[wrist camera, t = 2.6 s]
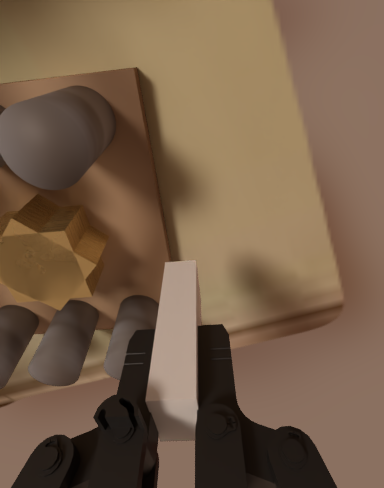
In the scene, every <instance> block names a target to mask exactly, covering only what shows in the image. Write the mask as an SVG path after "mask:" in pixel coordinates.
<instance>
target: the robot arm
mask: <svg viewBox="0 0 384 488" xmlns="http://www.w3.org/2000/svg"><path fill="white" fill-rule="evenodd" d="M94 419H95V421H96V423H97V424H98V427H97V428H95V429H93V430H91V431H89V432H86V433H84V434H81V435H79V436H76V437H74V438H72V439H70V438H68V437H67V436H65V435H54V436H52V437H49V438H47V439H46V440H44V441H43V442H42V443H40V444H39V445H38V446H37V447H36V449H35V450H34V451H33V453H32V454H31V455H30V457H29V459H28V461H27V462H26V464H25V466H24V467H23V469H22V470H21V472H20V474H19V475H18V477H17V479H16V480H15V482H14V484H13V485H12V487H11V488H157V480H158V468H159V457H158V453H157V446H158V436H159V438H160V441H187V440H188V441H189V440H195V488H337V486H336V484H335V482H334V481H333V479H332V477H331V475H330V473H329V471H328V469H327V467H326V465H325V463H324V461H323V459H322V458H321V456H320V454H319V452H318V450H317V448H316V446H315V444H314V443H313V442H312V440H311V439H310V438H309V436H308V435H307V434H305V433H304V432H302V431H301V430H300V429H297V428H294V427H291V426H285V427H280V428H278V429H276V430H274V429H271V428H268V427H265V426H262V425H259V424H257V423H254V422H253V421H251V420H250V419H248V418H247V417H246V416H245V415H244V414H243V413H242V411H241V410H240V408H239V406H238V403H237V399H236V392H235V384H234V375H233V367H232V359H231V349H230V341H229V334H228V333H227V331H226V329H225V328H224V326H223V324H219V325H201V297H200V289H199V280H198V272H197V263H196V260H190V261H176V262H165V268H164V275H163V282H162V289H161V296H160V303H159V309H158V316H157V323H156V329H145V330H136V331H135V333H134V334H133V336H132V337H131V339H130V340H129V343H128V347H127V352H126V356H125V360H124V366H123V369H122V374H121V378H120V382H119V387H118V391H117V395H113V396H111V397H110V398H108V399H106V400H105V401H104V402H103V403H102V404H101V405H100V406H99V407H98V409H97V411H96V413H95V415H94Z"/></svg>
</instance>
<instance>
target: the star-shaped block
mask: <svg viewBox="0 0 384 488" xmlns="http://www.w3.org/2000/svg"><path fill="white" fill-rule="evenodd" d="M108 238H109V236H108V235H106V234H105V233H103V232H101V231H100V230H98V229H96V228H95V227H93V226H91V225H90V224H89V221H88V218H87V216H86V213H85V210H84V207H83V205H74V206H63V207H60V206H58V205H56V204H55V203H53V202H51V201H50V200H48V199H46V198H45V197H43V196H41V195H40V194H36V195H35V196H34V197H33V198H32V199H31V200H30V201H29V202H28V203H27V204H26V205H25V206H24V207H23V208H22V209H21V210H20V211H11V212H6V213H5V214H4V215H3V216H1V217H0V283H1V284H3V285H5V286H7V288H8V289H9V291H10V292H11V294H12V296H13V297H14V299H15V300H16V302H17V303H19V302H32V301H40V302H42V303H44V304H47V305H49V306H51V307H53V308H55V309H57V310H61V309H62V308H63V307H64V305H65V304H66V303H67V302H68V300H69V299H71V298H83V297H92V296H93V294H94V291H95V288H96V286H97V283H98V281H99V278H100V276H101V273H102V271H103V268H104V264H103V261H102V258H101V254H102V252H103V249H104V247H105V245H106V242H107V240H108Z"/></svg>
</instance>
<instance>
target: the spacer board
mask: <svg viewBox="0 0 384 488" xmlns="http://www.w3.org/2000/svg"><path fill="white" fill-rule="evenodd" d="M36 194H40V195H41V196H43V197H45V198H46V199H48V200H50V201H51V202H53V203H55V204H56V205H58V206H60V207H63V206H74V205H83V207H84V210H85V213H86V216H87V218H88V221H89V224H90V225H91V226H93V227H95V228H96V229H98V230H100V231H101V232H103V233H105V234H106V235H108V236H109V238H108V240H107V242H106V245H105V247H104V249H103V252H102V254H101V258H102V261H103V264H104V268H103V271H102V273H101V276H100V278H99V281H98V283H97V286H96V288H95V291H94V294H93V296H92V297H83V298H71V299H69V300H68V302H67V303H66V304H65V305H64V307H63V308H62V309H61V310H57V309H55V308H53V307H51V306H49V305H47V304H44V303H42V302H40V301H32V302H19V303H17V302H16V300H15V299H14V297H13V296H12V294H11V292H10V291H9V289H8V288H7V286H5V285H3V284H1V283H0V389H1V388H3V387H5V385H6V384H7V382H8V380H9V378H10V376H11V375H12V373H13V371H14V369H15V367H16V365H17V364H18V362H19V360H20V358H21V356H22V355H23V353H24V351H25V349H26V347H27V345H28V344H29V342H30V340H31V338H32V336H33V335H34V334H43V333H45V335H44V337H43V339H42V341H41V343H40V345H39V347H38V349H37V350H36V352H35V354H34V356H33V358H32V360H31V362H30V364H29V366H28V371H29V373H30V375H31V376H32V377H33V378H34V379H36V380H37V381H39V382H42V383H44V384H47V385H52V386H67V385H71V384H73V383H75V382H76V381H77V380H78V378H79V375H80V372H81V369H82V366H83V363H84V361H85V358H86V355H87V352H88V349H89V346H90V343H91V340H92V337H93V334H94V331H95V330H98V329H112V328H114V329H113V333H112V336H111V340H110V344H109V347H108V351H107V355H106V358H105V362H104V369H105V371H106V372H107V374H109V375H110V376H111V377H113V378H115V379H118V380H120V378H121V374H122V369H123V366H124V360H125V356H126V352H127V347H128V343H129V340H130V339H131V337H132V336H133V334H134V333H135V331H136V330H145V329H156V323H157V316H158V309H159V303H160V296H161V289H162V282H163V275H164V268H165V262H172V260H171V254H170V249H169V243H168V238H167V232H166V226H165V221H164V215H163V210H162V204H161V199H160V193H159V187H158V182H157V176H156V171H155V165H154V160H153V154H152V148H151V143H150V137H149V132H148V126H147V121H146V115H145V109H144V104H143V98H142V93H141V87H140V82H139V76H138V71H137V67H136V68H127V69H119V70H111V71H103V72H94V73H86V74H78V75H69V76H61V77H53V78H45V79H36V80H28V81H20V82H12V83H3V84H0V217H1V216H3V215H4V214H5V213H6V212H11V211H20V210H21V209H22V208H23V207H24V206H25V205H26V204H27V203H28V202H29V201H30V200H31V199H32V198H33V197H34V196H35V195H36Z"/></svg>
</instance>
